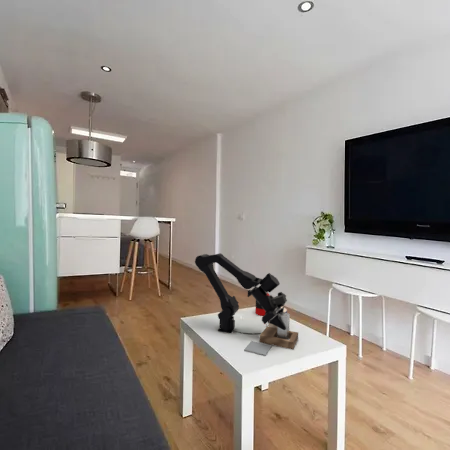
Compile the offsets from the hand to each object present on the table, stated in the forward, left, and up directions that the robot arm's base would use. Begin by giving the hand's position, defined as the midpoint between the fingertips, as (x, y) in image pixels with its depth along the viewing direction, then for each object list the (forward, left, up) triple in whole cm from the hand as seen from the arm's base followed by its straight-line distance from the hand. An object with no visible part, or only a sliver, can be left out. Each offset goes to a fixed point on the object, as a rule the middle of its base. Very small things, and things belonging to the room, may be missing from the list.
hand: (286, 327), depth 125 cm
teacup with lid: (-5, +16, -7) cm, 18 cm away
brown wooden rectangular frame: (-3, 0, -7) cm, 7 cm away
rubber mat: (-10, -10, -7) cm, 16 cm away
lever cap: (-1, 0, -7) cm, 7 cm away
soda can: (-16, +31, -7) cm, 36 cm away
